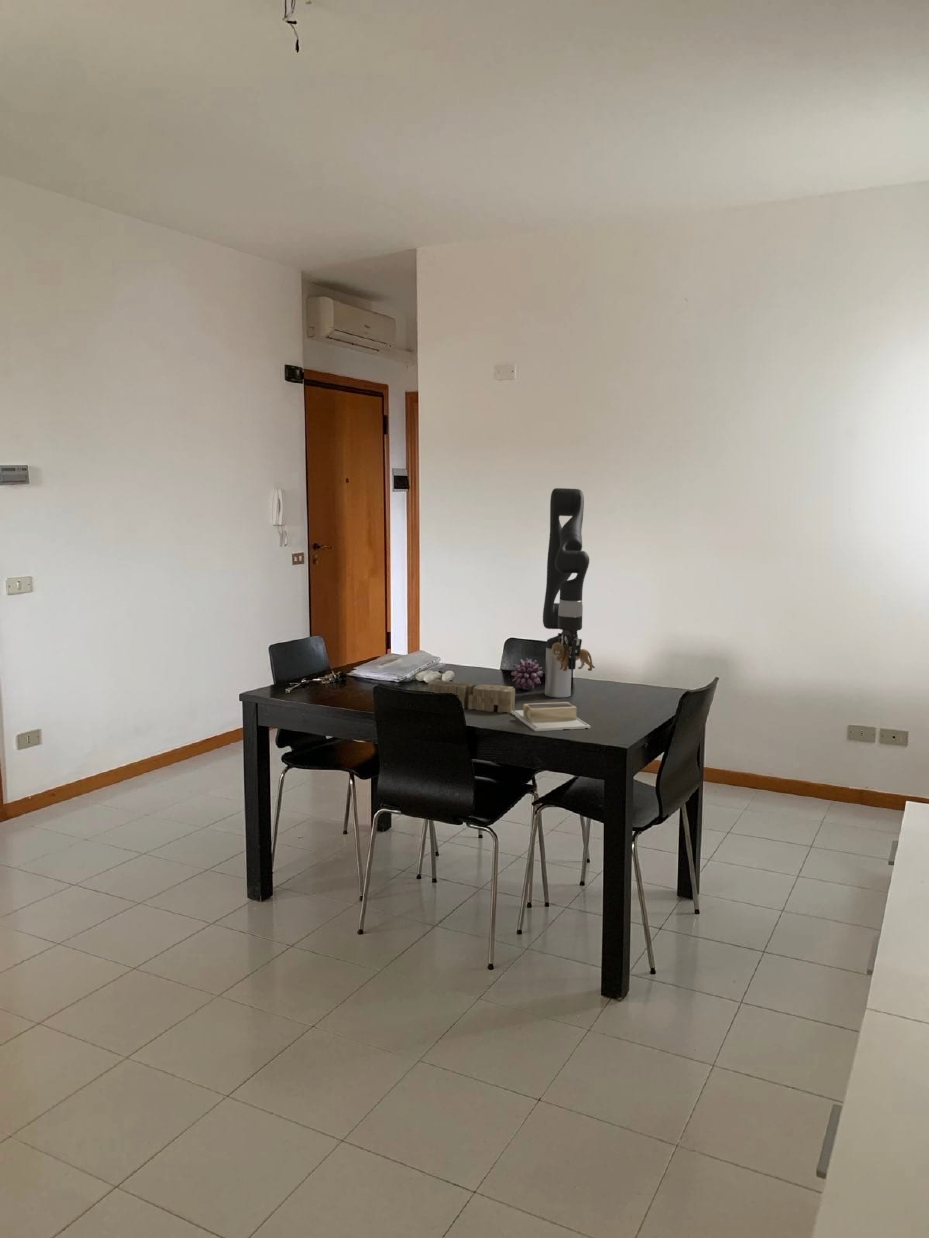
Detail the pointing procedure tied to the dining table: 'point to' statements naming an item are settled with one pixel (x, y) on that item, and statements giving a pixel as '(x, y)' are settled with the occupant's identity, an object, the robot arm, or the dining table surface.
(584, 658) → the lion figurine
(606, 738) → the dining table surface
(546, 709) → the wooden box
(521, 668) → the flower
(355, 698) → the dining table surface
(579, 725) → the mat
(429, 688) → the block tower
